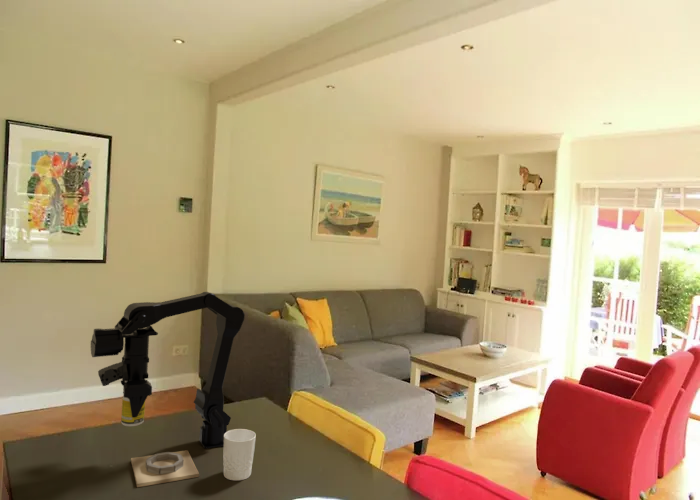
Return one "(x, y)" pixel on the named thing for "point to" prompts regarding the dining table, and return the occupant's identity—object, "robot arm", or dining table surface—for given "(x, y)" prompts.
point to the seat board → (163, 468)
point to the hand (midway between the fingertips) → (133, 413)
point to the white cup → (238, 453)
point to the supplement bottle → (127, 415)
